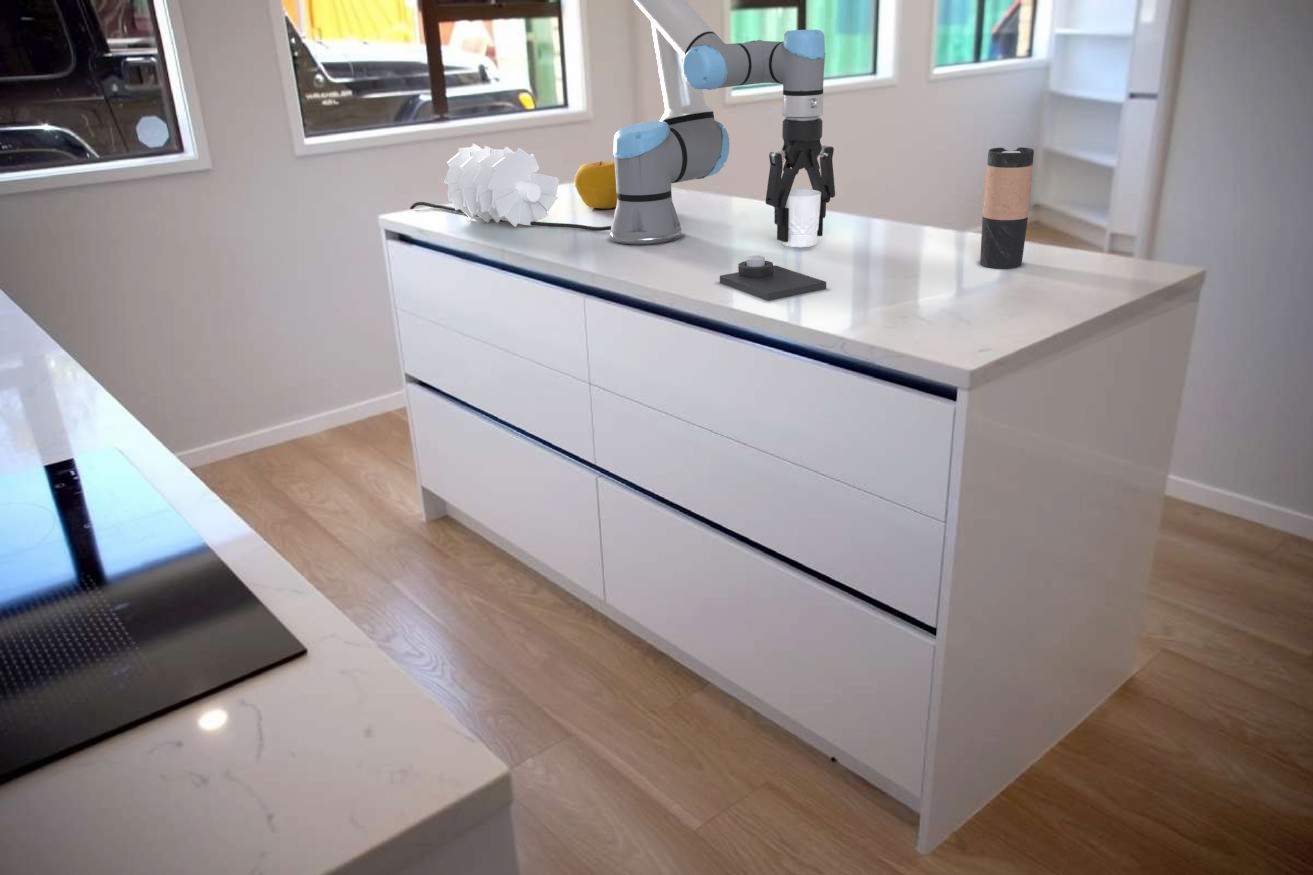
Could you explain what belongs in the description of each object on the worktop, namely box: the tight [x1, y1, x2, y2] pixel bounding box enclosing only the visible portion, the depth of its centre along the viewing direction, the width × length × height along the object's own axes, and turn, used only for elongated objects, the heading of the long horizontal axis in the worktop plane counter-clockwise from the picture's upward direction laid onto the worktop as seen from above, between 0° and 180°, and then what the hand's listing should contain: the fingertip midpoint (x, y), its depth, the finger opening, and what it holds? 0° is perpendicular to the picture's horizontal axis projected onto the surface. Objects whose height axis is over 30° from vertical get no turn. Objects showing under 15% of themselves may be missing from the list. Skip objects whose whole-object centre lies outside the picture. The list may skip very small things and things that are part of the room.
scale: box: [719, 260, 827, 302], centre depth 173 cm, size 16×12×3 cm
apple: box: [573, 160, 617, 210], centre depth 247 cm, size 13×13×11 cm
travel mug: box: [979, 146, 1035, 270], centre depth 176 cm, size 8×8×20 cm
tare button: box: [746, 255, 766, 267], centre depth 176 cm, size 3×3×2 cm
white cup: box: [782, 188, 821, 248], centre depth 196 cm, size 8×8×10 cm
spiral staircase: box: [443, 142, 560, 228], centre depth 235 cm, size 18×18×25 cm
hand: (799, 237), depth 198 cm, fingers closed on white cup, 8 cm apart
